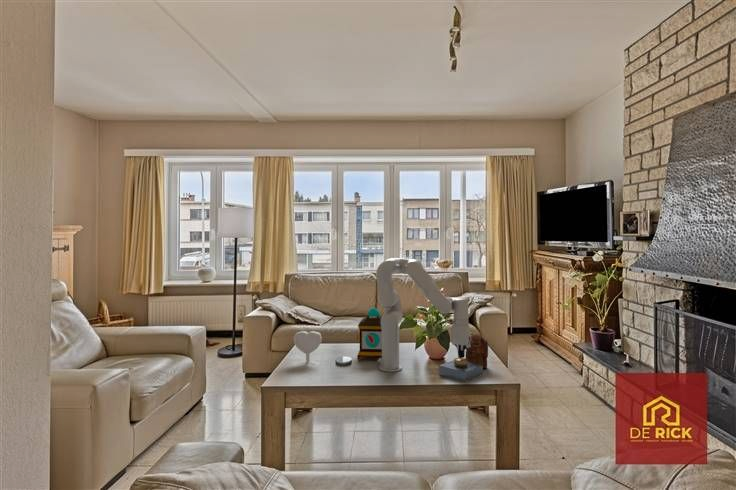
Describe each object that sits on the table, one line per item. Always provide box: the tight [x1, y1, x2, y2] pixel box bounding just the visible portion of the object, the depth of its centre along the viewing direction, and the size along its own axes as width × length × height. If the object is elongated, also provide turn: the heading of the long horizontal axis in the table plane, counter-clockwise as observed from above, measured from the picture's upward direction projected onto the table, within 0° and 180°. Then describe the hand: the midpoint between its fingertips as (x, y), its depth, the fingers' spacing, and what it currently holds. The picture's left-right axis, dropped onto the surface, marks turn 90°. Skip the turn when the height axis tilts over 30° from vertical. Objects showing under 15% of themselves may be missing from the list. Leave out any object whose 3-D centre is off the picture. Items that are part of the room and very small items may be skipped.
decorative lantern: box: [356, 307, 382, 362], centre depth 252 cm, size 20×20×30 cm
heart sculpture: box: [293, 330, 323, 366], centre depth 240 cm, size 16×5×18 cm, turn 87°
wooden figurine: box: [465, 334, 489, 369], centre depth 231 cm, size 12×6×18 cm, turn 79°
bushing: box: [453, 357, 467, 367], centre depth 219 cm, size 7×7×8 cm
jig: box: [438, 359, 484, 383], centre depth 219 cm, size 16×16×5 cm
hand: (461, 357), depth 218 cm, fingers closed
